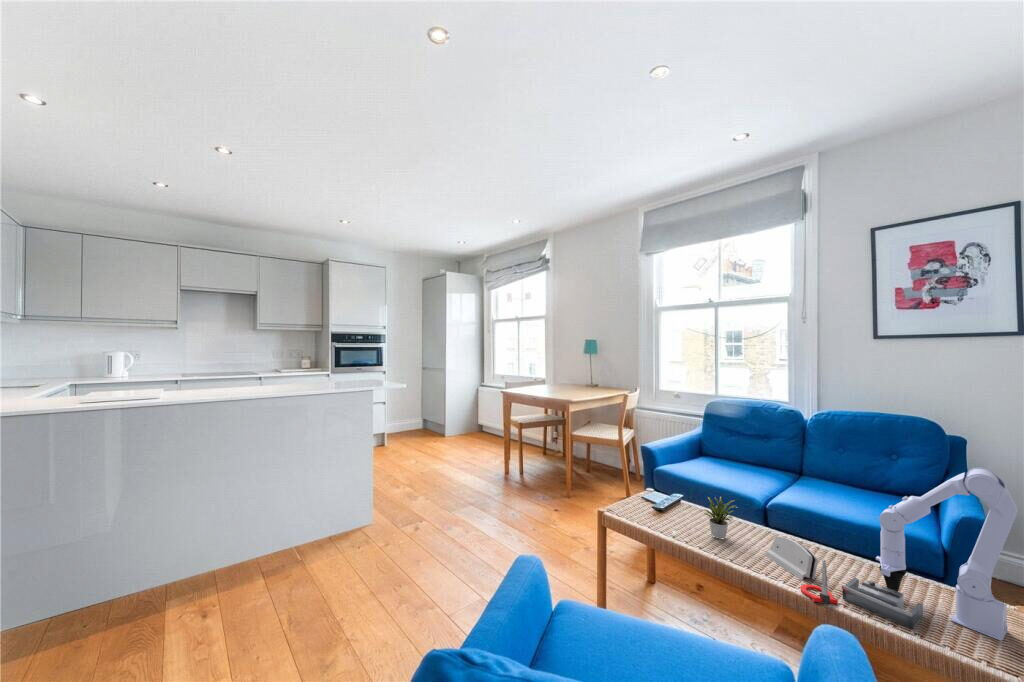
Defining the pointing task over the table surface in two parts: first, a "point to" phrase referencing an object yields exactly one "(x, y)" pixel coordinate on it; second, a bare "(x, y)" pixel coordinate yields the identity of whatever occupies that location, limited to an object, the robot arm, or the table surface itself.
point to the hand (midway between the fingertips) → (892, 591)
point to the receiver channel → (881, 605)
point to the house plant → (719, 518)
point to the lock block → (882, 593)
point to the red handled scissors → (820, 589)
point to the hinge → (793, 557)
